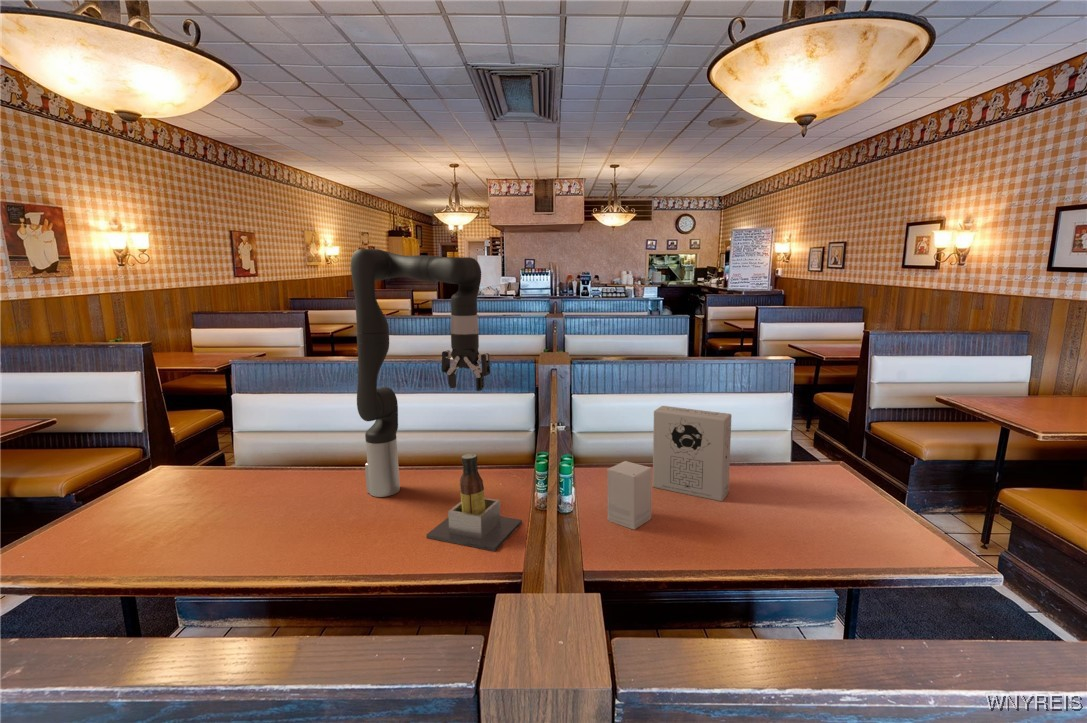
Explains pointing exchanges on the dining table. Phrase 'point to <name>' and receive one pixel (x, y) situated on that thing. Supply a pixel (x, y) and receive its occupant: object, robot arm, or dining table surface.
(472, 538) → the condiment holder
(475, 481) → the sauce bottle
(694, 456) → the cereal box
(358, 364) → the robot arm
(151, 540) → the dining table surface
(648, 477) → the supplement box
